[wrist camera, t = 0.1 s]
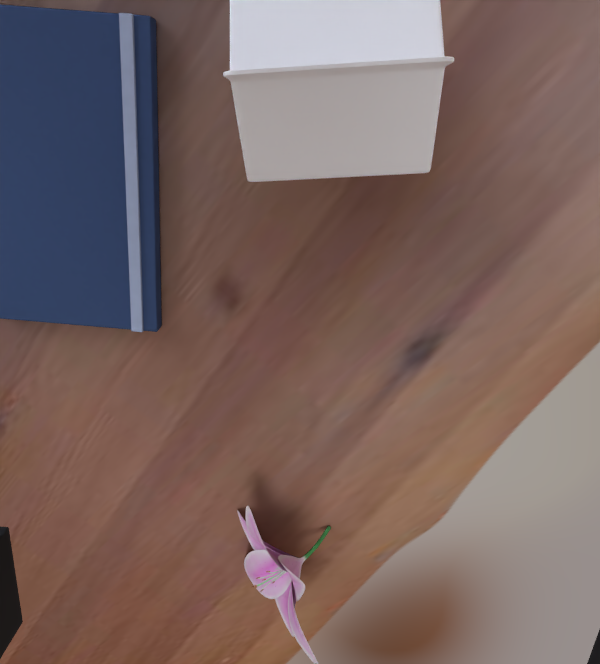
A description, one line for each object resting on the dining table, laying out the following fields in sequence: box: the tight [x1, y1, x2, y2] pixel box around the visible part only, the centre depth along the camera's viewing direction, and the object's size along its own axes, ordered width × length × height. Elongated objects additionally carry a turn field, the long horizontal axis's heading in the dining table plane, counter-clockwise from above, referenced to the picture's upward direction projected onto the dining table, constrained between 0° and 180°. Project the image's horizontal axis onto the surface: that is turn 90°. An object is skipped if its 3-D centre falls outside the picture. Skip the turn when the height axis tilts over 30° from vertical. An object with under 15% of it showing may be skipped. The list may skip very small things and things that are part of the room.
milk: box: [223, 0, 454, 182], centre depth 24 cm, size 6×6×22 cm
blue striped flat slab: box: [0, 5, 162, 332], centre depth 36 cm, size 20×12×2 cm, turn 176°
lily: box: [237, 506, 331, 664], centre depth 43 cm, size 12×12×10 cm
